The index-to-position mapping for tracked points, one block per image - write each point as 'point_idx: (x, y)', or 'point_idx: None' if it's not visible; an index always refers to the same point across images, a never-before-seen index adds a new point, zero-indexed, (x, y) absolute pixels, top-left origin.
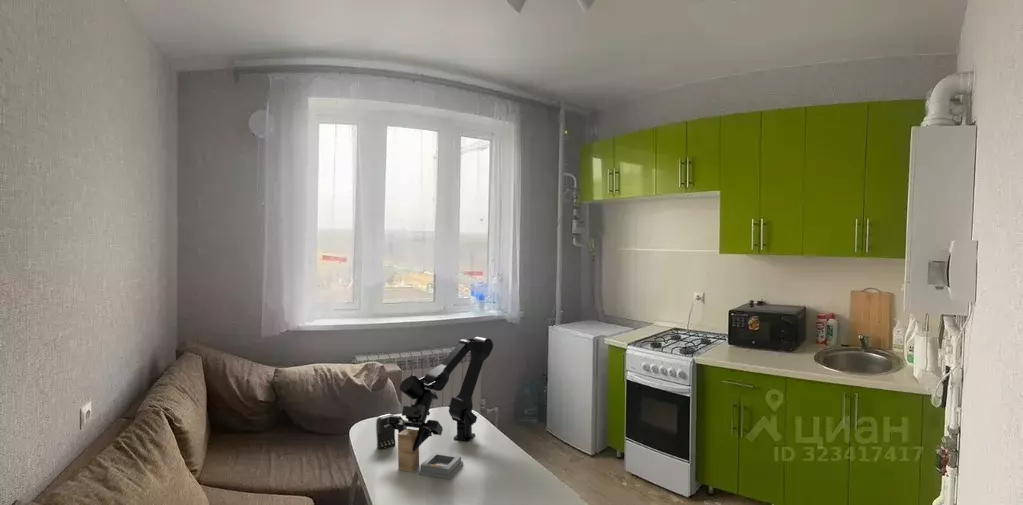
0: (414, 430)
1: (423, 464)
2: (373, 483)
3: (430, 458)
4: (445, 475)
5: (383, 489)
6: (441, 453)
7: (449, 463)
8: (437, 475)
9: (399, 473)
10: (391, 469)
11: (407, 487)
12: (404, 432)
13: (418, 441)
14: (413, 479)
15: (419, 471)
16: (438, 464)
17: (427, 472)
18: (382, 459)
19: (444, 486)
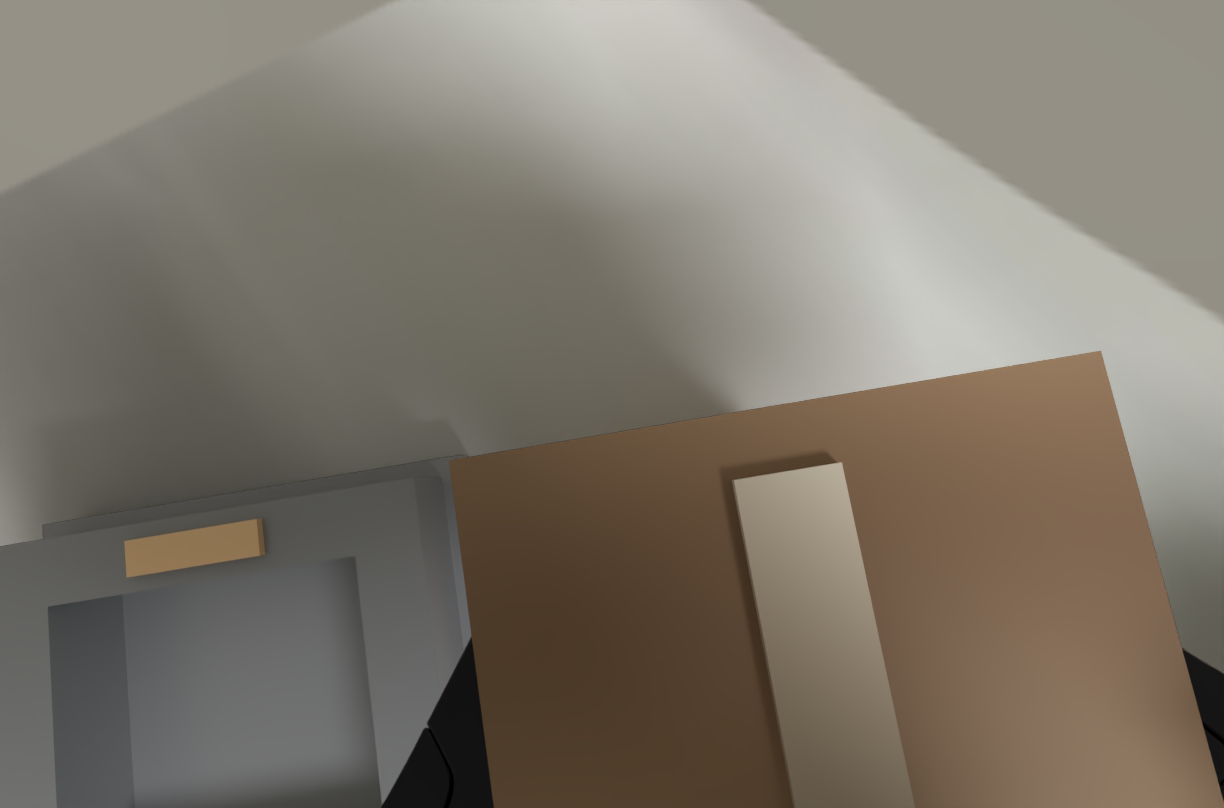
0: None
1: (382, 509)
2: (790, 74)
3: (399, 726)
4: (95, 522)
5: (605, 35)
6: None
7: (49, 714)
8: (206, 497)
9: (690, 375)
10: None
11: (405, 176)
12: (970, 631)
13: (445, 703)
14: (452, 338)
15: (445, 459)
16: (329, 739)
17: (339, 484)
18: (1162, 575)
19: (56, 370)
